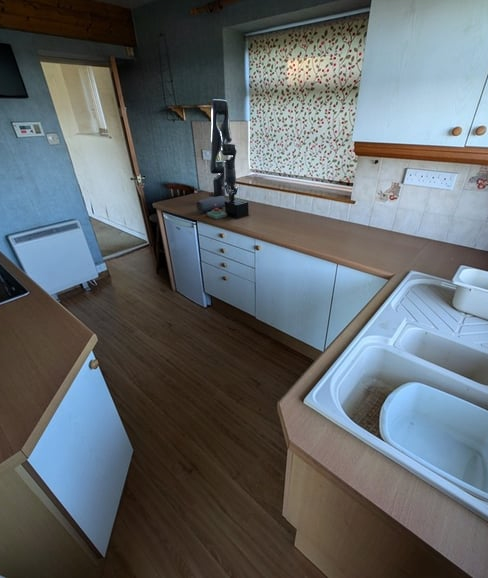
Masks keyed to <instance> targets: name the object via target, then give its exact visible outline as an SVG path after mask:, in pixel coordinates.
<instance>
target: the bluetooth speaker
mask: <svg viewBox="0 0 488 578" xmlns="http://www.w3.org/2000/svg"><path fill="white" fill-rule="evenodd" d="M225 201H227V197H226V198H225V197H224V196H218V197H214V196H212V197H208V198H204V199H201V200H197V202H196V209H197V211H198V212H199V213H205V212H206V213H207V212H211V211H212V210H214V208H219V209H222V208H225Z"/></svg>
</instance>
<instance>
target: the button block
mask: <svg viewBox="0 0 488 578" xmlns="http://www.w3.org/2000/svg"><path fill="white" fill-rule="evenodd" d="M206 216H207V217H210V218H212V219H214V220H219V219H223V218H226V217H228V215H227V213H225V212H224V211H222V209H219V211H214V210H212V211H211V212H206Z"/></svg>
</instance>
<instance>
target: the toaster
mask: <svg viewBox="0 0 488 578" xmlns="http://www.w3.org/2000/svg"><path fill="white" fill-rule="evenodd" d="M224 211H225V212H224V213H227V217H231V218H233V219H236V220H238V219H242V218H246V217H249V216H250V213H249V201H246V200H242V199H239V198H235V200H233V201H231V200H229V199H228V200H226V201H225V207H224Z"/></svg>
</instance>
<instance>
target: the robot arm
mask: <svg viewBox="0 0 488 578" xmlns="http://www.w3.org/2000/svg"><path fill="white" fill-rule="evenodd" d="M210 110H211V111H210V112H211V131H210V133H211V134H210V157H209V158H210V159H209V160H210V161H209V172H210V173H211V174H213V175H217V176H215V177H213V179H212V185H213V191H211V192H210V194H209V195H210V196H212V197H218V196H224V197H225V198H226V199H227V197H226V196H227V195H226V194H228V196H229V193H231V198H232V201H233V200H235V199H236V198H235V196H236V195H237V193H238V190H239V187H238V186H236V182H237V174H236V173H237V172H236V157H237V152H238V148H237V145H236V143H232V141H233V137H232V132H231V127H230V112H229V104H228V102H227V100H225V99H219V98H218V99H215V98H214V99H212V100H211V105H210ZM218 116H223V121H222V123H221V124H220V125H221V126H220V125H219V121H218ZM220 153H221V154H222V155H223V156H225V157H227V156H230V157H229V158H226V159H225V160H224V161H223V160H217V158H218V155H219V154H220ZM228 200H230V198H229V197H228Z"/></svg>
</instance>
